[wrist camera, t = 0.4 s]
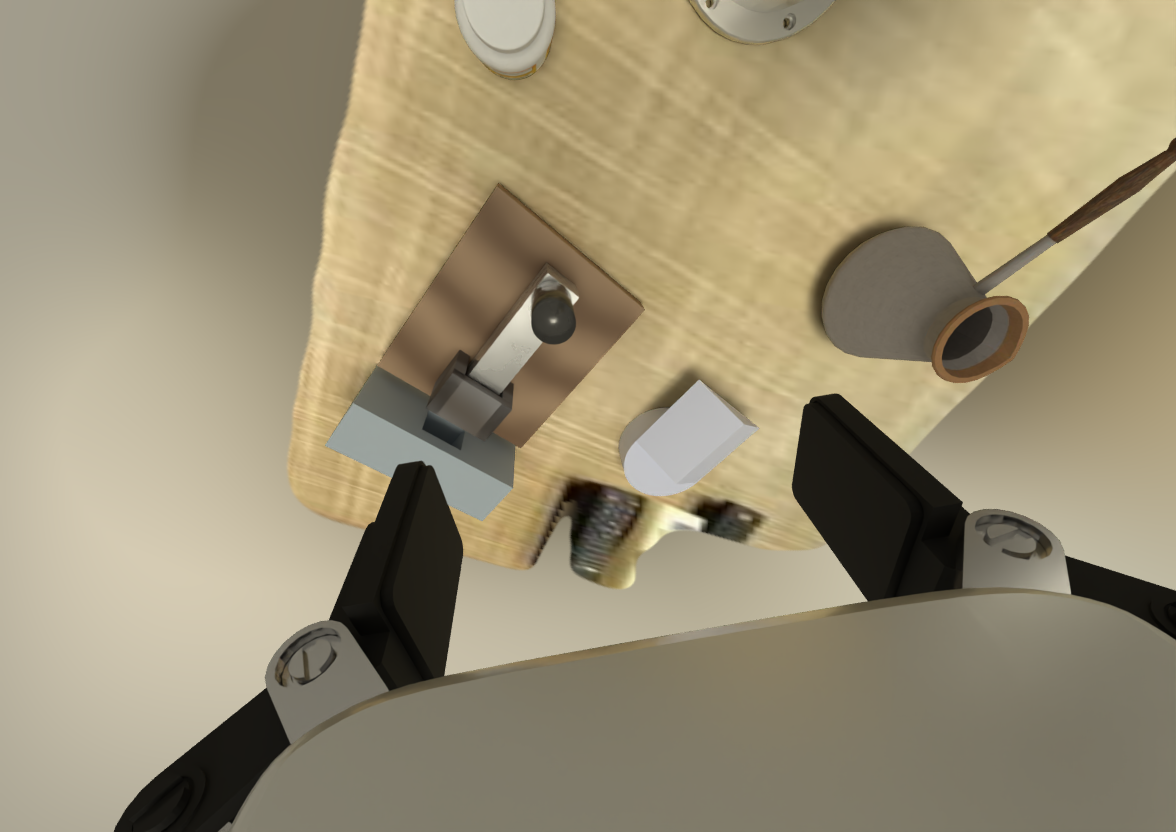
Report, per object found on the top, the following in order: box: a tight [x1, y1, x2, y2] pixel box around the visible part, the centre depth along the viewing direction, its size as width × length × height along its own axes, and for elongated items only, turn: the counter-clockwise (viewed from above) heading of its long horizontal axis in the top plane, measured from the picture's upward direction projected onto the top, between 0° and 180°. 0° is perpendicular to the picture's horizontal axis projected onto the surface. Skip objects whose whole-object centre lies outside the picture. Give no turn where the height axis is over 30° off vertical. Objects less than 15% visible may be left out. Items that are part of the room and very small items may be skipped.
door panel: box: [377, 183, 645, 448], centre depth 39 cm, size 18×15×6 cm
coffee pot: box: [821, 138, 1176, 383], centre depth 35 cm, size 21×12×15 cm, turn 156°
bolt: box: [465, 262, 579, 396], centre depth 36 cm, size 12×3×8 cm, turn 140°
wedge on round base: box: [619, 380, 759, 496], centre depth 47 cm, size 9×7×13 cm
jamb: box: [325, 366, 515, 521], centre depth 43 cm, size 5×15×7 cm, turn 50°
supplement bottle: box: [455, 0, 556, 80], centre depth 27 cm, size 5×5×10 cm
